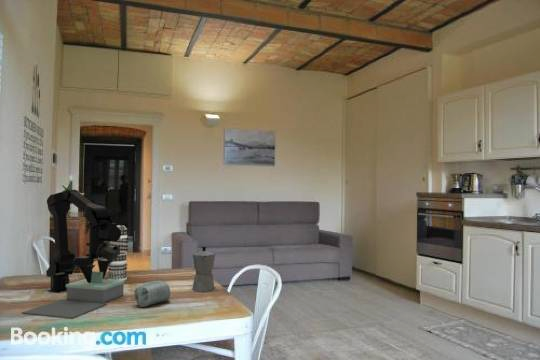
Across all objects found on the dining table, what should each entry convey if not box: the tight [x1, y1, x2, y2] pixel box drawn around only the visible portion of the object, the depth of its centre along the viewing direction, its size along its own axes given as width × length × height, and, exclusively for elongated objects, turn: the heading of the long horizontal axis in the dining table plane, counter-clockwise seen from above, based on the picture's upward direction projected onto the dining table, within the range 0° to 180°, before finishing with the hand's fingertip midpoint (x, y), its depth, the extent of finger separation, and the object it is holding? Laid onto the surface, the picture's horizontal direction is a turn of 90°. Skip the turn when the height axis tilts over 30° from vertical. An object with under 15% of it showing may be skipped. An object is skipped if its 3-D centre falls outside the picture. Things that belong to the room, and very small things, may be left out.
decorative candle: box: [107, 224, 130, 281], centre depth 192 cm, size 9×9×25 cm
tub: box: [66, 283, 125, 304], centre depth 157 cm, size 16×12×5 cm
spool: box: [134, 280, 171, 308], centre depth 150 cm, size 14×10×10 cm
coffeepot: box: [191, 246, 216, 293], centre depth 174 cm, size 15×9×18 cm, turn 13°
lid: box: [66, 270, 126, 290], centre depth 157 cm, size 17×13×6 cm
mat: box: [21, 299, 108, 320], centre depth 142 cm, size 20×17×1 cm
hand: (96, 280), depth 157 cm, fingers open, 7 cm apart
